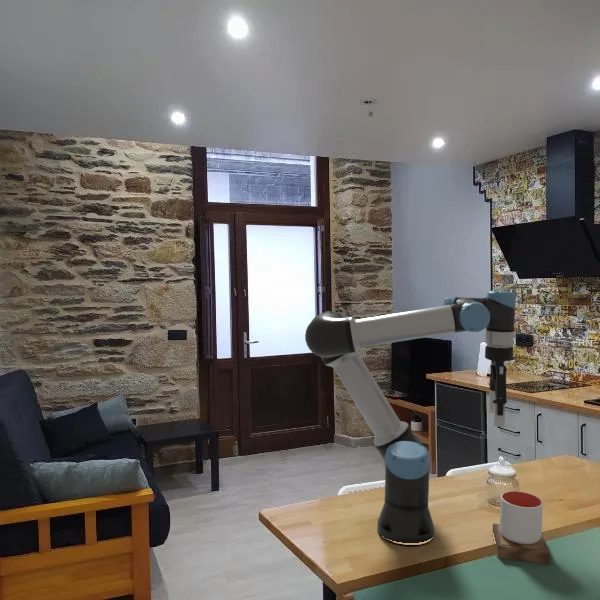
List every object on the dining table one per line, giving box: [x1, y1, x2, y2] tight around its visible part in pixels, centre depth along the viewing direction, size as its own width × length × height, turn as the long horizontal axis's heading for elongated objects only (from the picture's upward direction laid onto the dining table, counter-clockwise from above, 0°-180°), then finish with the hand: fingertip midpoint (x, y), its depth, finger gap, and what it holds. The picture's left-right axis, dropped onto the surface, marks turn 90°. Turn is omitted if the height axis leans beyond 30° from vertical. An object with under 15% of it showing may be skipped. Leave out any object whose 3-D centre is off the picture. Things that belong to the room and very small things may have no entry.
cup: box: [499, 490, 544, 544], centre depth 143 cm, size 10×10×10 cm
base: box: [492, 523, 551, 565], centre depth 144 cm, size 12×12×3 cm
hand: (496, 419), depth 159 cm, fingers open, 13 cm apart
